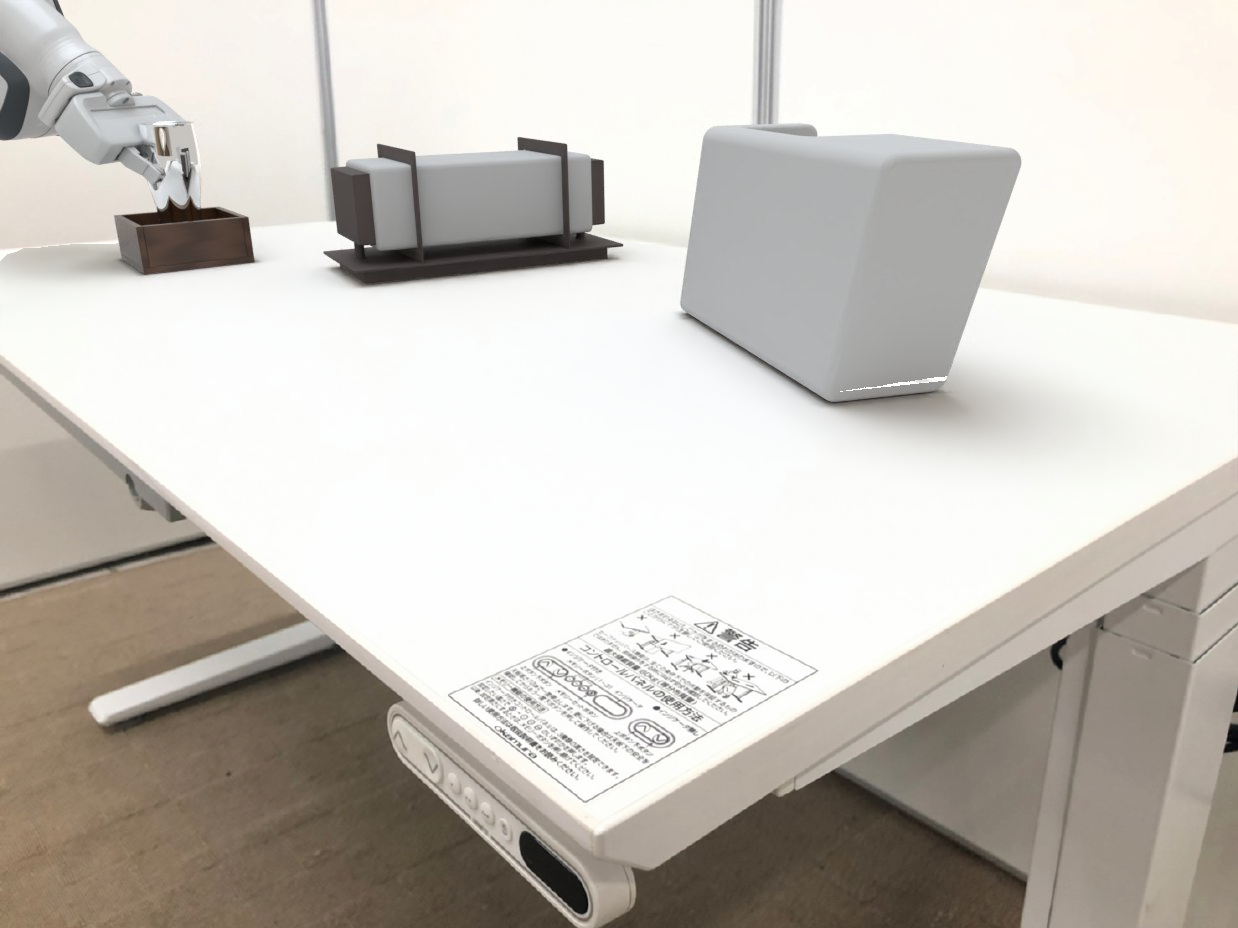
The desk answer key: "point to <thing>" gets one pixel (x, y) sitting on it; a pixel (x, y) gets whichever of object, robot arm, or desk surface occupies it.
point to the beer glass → (174, 169)
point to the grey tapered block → (843, 251)
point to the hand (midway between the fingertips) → (178, 176)
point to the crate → (184, 241)
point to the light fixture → (468, 211)
